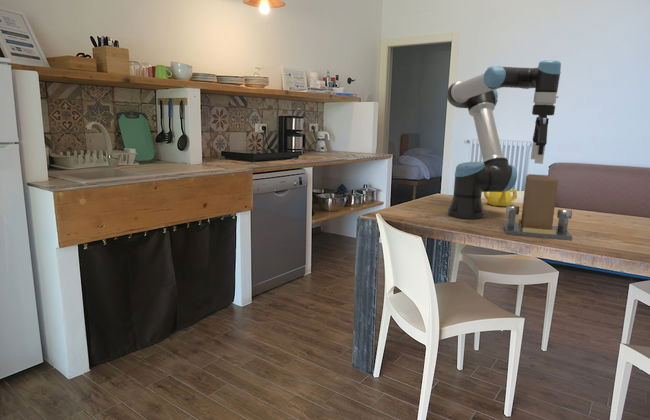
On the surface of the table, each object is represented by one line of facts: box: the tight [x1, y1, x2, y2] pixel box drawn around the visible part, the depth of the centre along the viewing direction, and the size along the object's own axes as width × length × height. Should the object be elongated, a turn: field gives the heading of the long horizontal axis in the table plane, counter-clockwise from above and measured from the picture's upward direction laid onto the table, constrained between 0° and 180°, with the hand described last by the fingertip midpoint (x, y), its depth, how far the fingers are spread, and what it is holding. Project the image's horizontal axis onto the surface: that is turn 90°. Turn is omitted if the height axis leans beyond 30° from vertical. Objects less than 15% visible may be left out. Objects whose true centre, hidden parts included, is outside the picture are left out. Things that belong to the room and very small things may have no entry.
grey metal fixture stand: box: [503, 205, 573, 241], centre depth 174 cm, size 22×15×10 cm
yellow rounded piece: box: [483, 188, 518, 207], centre depth 228 cm, size 14×13×10 cm
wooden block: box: [520, 173, 559, 230], centre depth 173 cm, size 10×10×20 cm
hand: (536, 161), depth 175 cm, fingers open, 13 cm apart
